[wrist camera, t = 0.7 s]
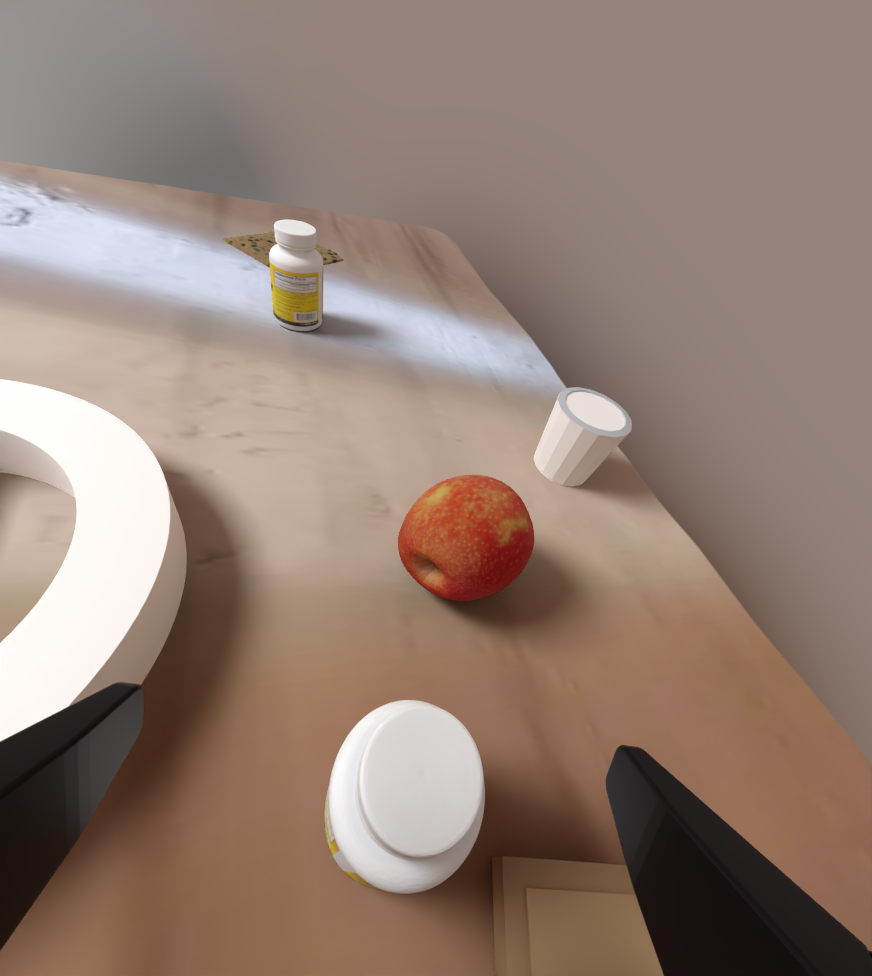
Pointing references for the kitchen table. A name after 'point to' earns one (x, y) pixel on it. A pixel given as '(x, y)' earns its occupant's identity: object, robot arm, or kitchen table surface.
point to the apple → (466, 538)
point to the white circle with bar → (89, 556)
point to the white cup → (580, 435)
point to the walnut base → (568, 920)
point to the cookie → (263, 243)
